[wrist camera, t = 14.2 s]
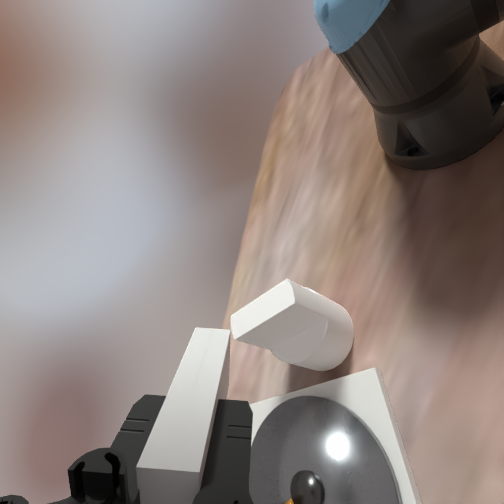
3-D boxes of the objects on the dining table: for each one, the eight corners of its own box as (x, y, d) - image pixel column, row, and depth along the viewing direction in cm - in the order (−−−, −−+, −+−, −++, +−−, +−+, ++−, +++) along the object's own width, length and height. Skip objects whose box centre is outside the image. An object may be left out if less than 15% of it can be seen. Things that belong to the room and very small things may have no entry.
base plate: (247, 407, 46) (230, 405, 44) (379, 369, 36) (366, 364, 34) (263, 614, 34) (241, 625, 32) (466, 645, 24) (453, 663, 22)
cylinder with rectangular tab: (303, 382, 41) (236, 367, 34) (286, 319, 47) (226, 294, 40) (365, 353, 37) (305, 329, 30) (338, 288, 43) (282, 254, 36)
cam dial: (329, 364, 38) (254, 340, 30) (454, 557, 25) (381, 611, 17) (233, 450, 43) (145, 451, 35) (296, 653, 30) (178, 731, 22)
